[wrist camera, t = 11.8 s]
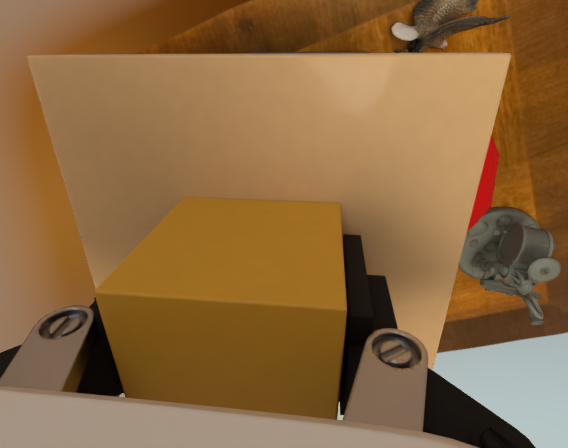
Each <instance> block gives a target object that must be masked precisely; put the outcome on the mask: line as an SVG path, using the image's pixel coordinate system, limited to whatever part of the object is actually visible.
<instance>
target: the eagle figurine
mask: <svg viewBox="0 0 568 448" xmlns="http://www.w3.org/2000/svg"><path fill="white" fill-rule="evenodd" d="M477 2H478V0H422V1H420V2H419V3H418V5H417V6H416V9H415V10H414V11H413V12H414V13H413V16H414V21H415V22H414V26H413V27H411V26H407V25H405V24H402V23H400V22H398V23H395V25H394V26H392V27H391V29H392V33H393V35H394V36H395V37H397V38H399V39H401V40H404V41H411V42H410V44H409V45H408V47H407V50H405V51H400V50H399V49H395V50H394V52H395V53H422V52H423V51H424V50H425V49H426V48H428V47H431V48H442V50H444V49H445V47H446V46H447V42H446V40H445V39H446V38H447V37H449V36H451V35H453V34H455V33H458V32H461V31H466V30H469V29H472V28H475V27H478V26H483V25H489V24H493V23H496V22H498V21H501V20H505V19H508V18H509V16H504V17H500V18H488V17H484V16H469V17H464V18H459V19H456V20H453V19H455V18H456V17H458V16H459V15H462V14H466V13H468V12H472V11H474V10H475V9H476V3H477ZM451 20H453V21H451Z"/></svg>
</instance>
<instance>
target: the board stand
mask: <svg viewBox="0 0 568 448" xmlns="http://www.w3.org/2000/svg"><path fill="white" fill-rule="evenodd" d="M510 58H511V54H509V53H494V52H462V53H370V52H365V51H342V52H253V53H244V54H91V55H90V54H87V55H86V54H77V55H31V56H28V57H27V60H28V63H29V67H30V70H31V73H32V77H33V80H34V83H35V87H36V90H37V94H38V97H39V100H40V104H41V107H42V110H43V114H44V117H45V120H46V124H47V127H48V130H49V134H50V137H51V141H52V144H53V147H54V150H55V154H56V157H57V161H58V164H59V167H60V170H61V174H62V177H63V181H64V184H65V188H66V191H67V194H68V198H69V201H70V204H71V208H72V211H73V214H74V218H75V221H76V224H77V228H78V231H79V234H80V238H81V241H82V245H83V248H84V251H85V254H86V258H87V261H88V265H89V268H90V271H91V275H92V278H93V281H94V285H95V288H96V289H97V288H98V286H99V285H100V284H101V283H102V282H103V281H104V280H105V279H106V278H107V277H108V276H109V275H110V274H111V273H112V272H113V271H114V270H115V269H116V268H117V267H118V266H119V265H120V263H121V262H122V261H123V260H124V259H125V258H126V257H127V256H128V255H129V254H130V253H131V252H132V251H133V250H134V249H135V248H136V247H137V246H138V245H139V244H140V243H141V242H142V240H143V239H144V238H145V237H146V236H147V235H148V234H149V233H150V232H151V231H152V230H153V229H154V228H155V227H156V226H157V225H158V224H159V223H160V222H161V221H162V220H163V218H164V217H165V216H166V215H167V214H168V213H169V212H170V211H171V210H172V209H173V208H174V207H175V206H176V205H177V204H178V203H179V202H180V201H181V200H182V199H183V198H184V197H193V198H219V199H245V200H272V201H298V202H324V203H339V204H340V209H341V224H342V239H343V235H344V234H347V235H361V240H362V246H363V252H364V259H365V265H366V271H367V275H382V276H385V277H386V280H387V285H388V289H389V293H390V297H391V301H392V306H393V310H394V314H395V318H396V322H397V327H398V329H400V330H402V331H405V332H408V333H410V334H412V335H413V336H415V337H416V338H418V339H419V340H420V341H421V342H422V343H423V344H424V346H425V348H426V350H427V352H428V368H429V369H431V370H432V369H433V365H434V361H435V357H436V354H437V350H438V346H439V342H440V338H441V334H442V330H443V326H444V322H445V318H446V314H447V310H448V306H449V302H450V298H451V294H452V290H453V286H454V282H455V278H456V274H457V270H458V266H459V262H460V258H461V254H462V250H463V246H464V242H465V238H466V234H467V230H468V226H469V222H470V218H471V214H472V210H473V206H474V202H475V198H476V194H477V190H478V186H479V182H480V178H481V174H482V170H483V166H484V162H485V158H486V154H487V150H488V146H489V142H490V138H491V134H492V130H493V126H494V122H495V118H496V114H497V110H498V106H499V102H500V98H501V94H502V90H503V86H504V82H505V78H506V74H507V70H508V66H509V62H510Z"/></svg>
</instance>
